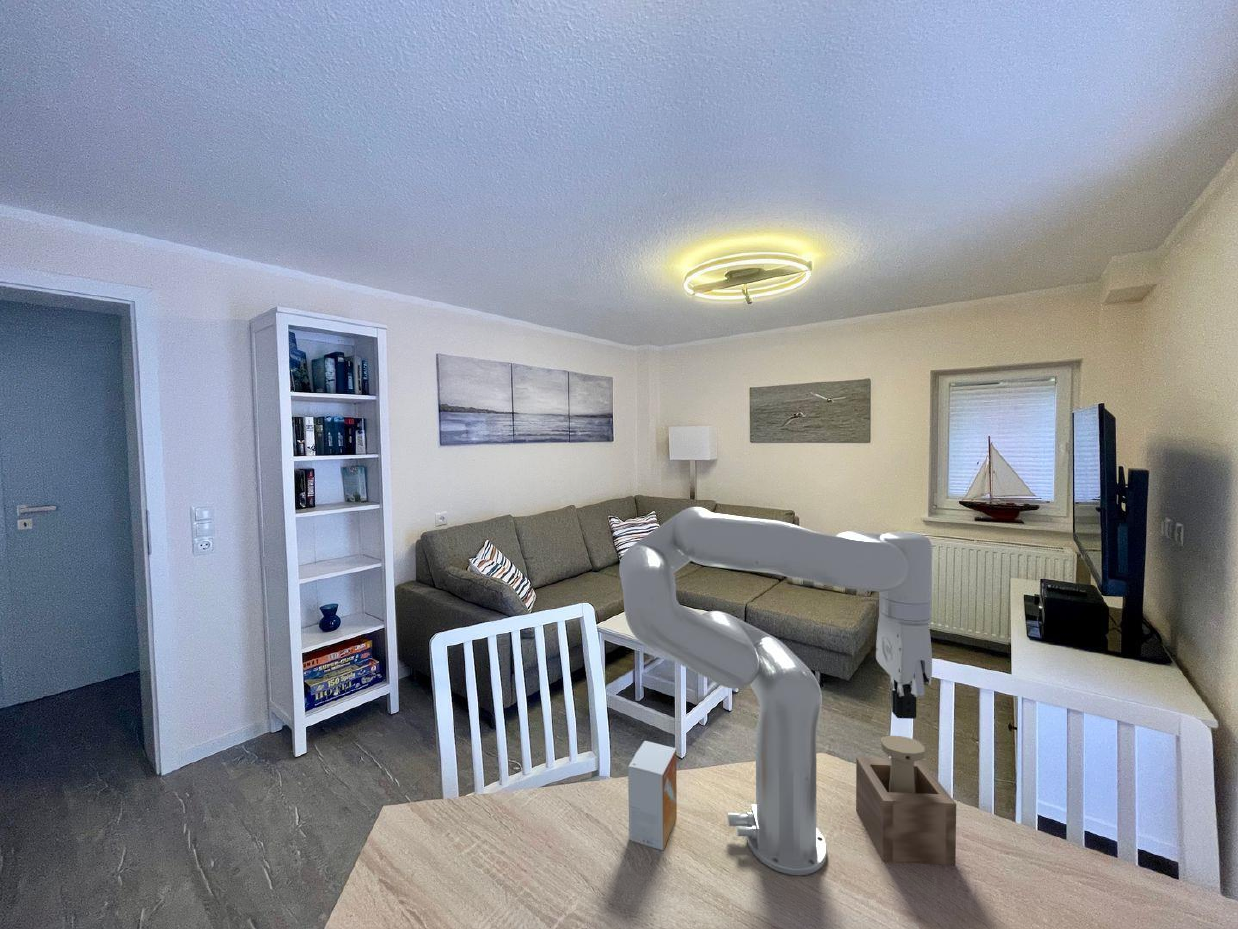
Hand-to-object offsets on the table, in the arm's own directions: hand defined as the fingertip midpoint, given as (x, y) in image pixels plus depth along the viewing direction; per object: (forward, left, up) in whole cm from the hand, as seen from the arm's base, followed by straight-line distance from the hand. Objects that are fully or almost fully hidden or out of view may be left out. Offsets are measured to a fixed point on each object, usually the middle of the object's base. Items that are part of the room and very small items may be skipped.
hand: (904, 715), depth 84 cm
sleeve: (0, 0, -21) cm, 21 cm away
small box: (-42, -1, -21) cm, 47 cm away
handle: (0, 0, -20) cm, 20 cm away
